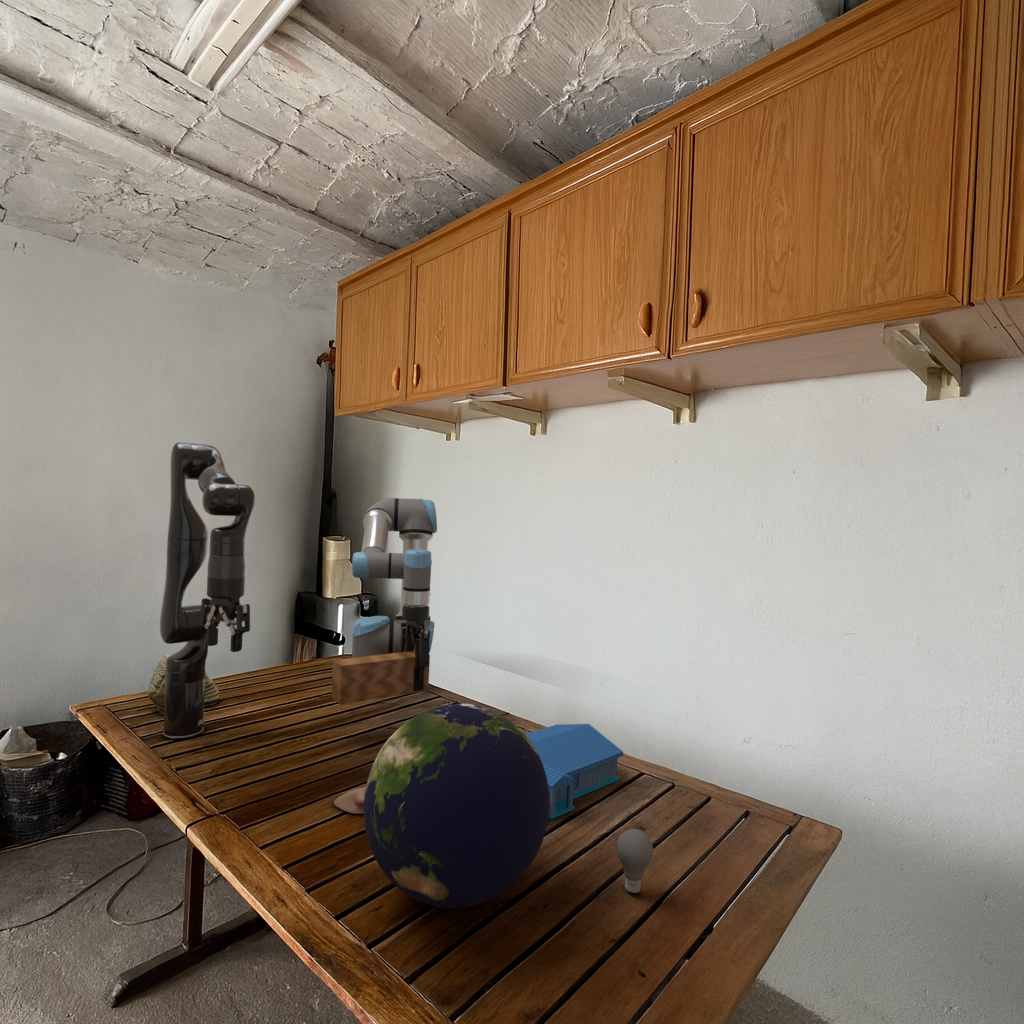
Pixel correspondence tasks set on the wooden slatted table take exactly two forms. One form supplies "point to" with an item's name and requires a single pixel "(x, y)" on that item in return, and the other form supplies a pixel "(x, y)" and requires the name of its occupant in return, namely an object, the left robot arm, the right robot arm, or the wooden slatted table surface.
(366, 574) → the right robot arm
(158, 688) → the fossil
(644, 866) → the light bulb
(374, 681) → the box
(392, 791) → the globe
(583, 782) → the model building
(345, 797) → the anatomical model
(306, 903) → the wooden slatted table surface
